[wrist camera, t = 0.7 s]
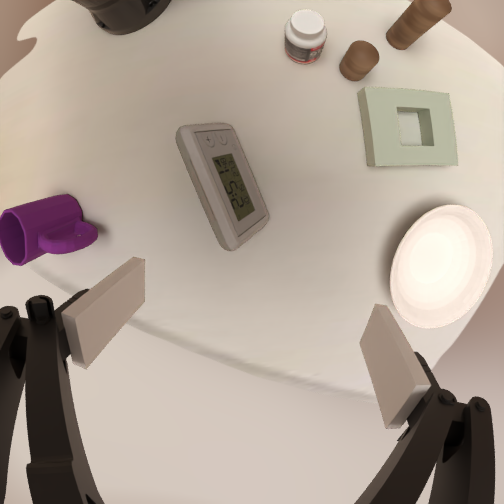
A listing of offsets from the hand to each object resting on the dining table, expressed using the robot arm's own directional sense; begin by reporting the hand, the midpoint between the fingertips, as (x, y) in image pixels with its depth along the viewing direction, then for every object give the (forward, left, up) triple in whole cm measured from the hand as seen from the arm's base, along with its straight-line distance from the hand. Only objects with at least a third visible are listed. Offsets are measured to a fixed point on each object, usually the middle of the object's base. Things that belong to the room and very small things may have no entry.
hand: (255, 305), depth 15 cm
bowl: (+9, +25, -28) cm, 39 cm away
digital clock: (-6, -5, -28) cm, 29 cm away
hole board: (-11, +21, -28) cm, 37 cm away
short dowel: (-21, +14, -28) cm, 37 cm away
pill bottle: (-24, +8, -28) cm, 38 cm away
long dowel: (-27, +23, -28) cm, 45 cm away
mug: (-4, -35, -28) cm, 45 cm away
